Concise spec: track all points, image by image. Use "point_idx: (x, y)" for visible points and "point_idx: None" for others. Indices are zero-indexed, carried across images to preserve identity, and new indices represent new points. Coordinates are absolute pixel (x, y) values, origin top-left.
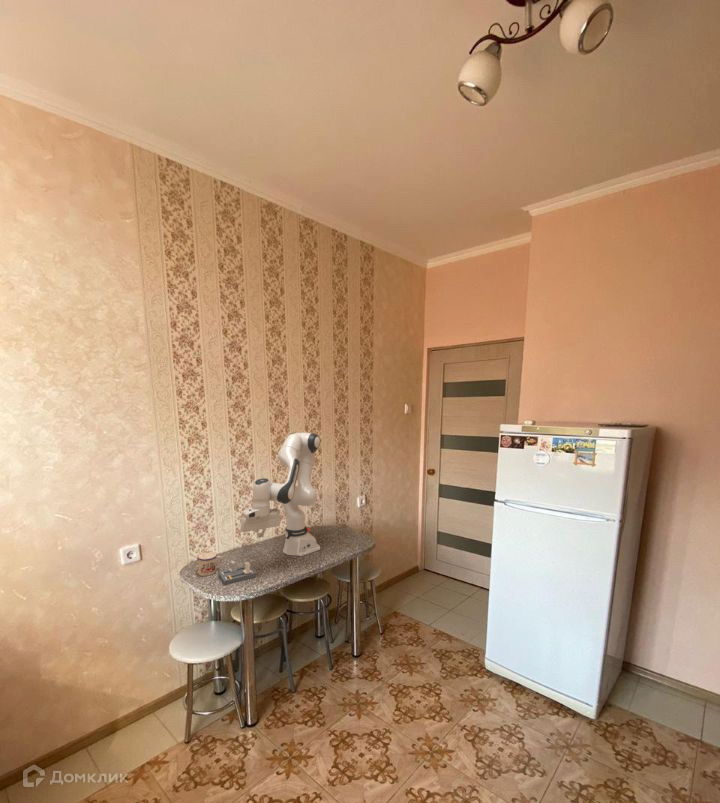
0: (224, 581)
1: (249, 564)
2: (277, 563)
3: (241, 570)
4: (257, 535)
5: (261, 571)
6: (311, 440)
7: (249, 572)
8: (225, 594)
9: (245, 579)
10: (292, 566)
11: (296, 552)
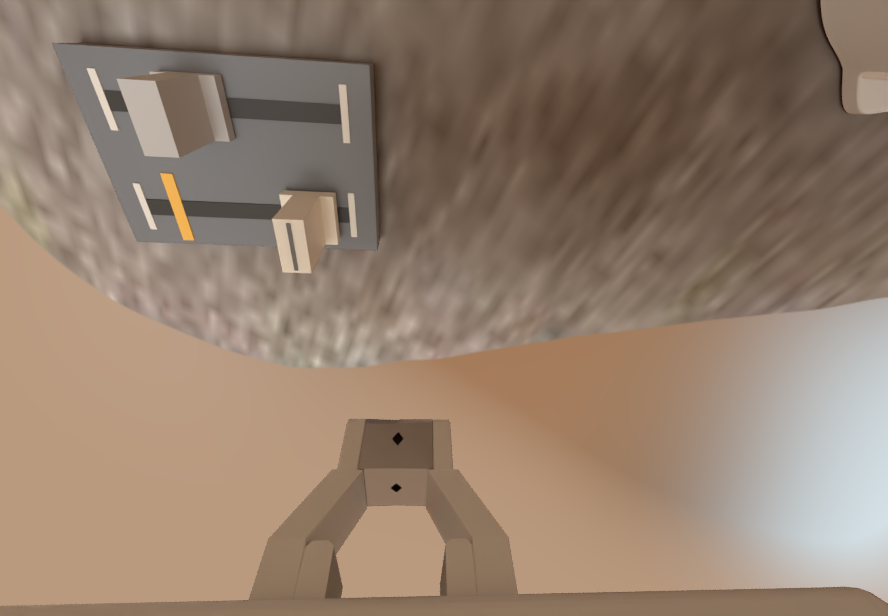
0: (140, 241)
1: (307, 271)
2: (613, 117)
3: (277, 142)
4: (344, 451)
5: (440, 180)
6: None
7: (325, 240)
8: (172, 326)
9: None
10: (651, 234)
11: (872, 66)
